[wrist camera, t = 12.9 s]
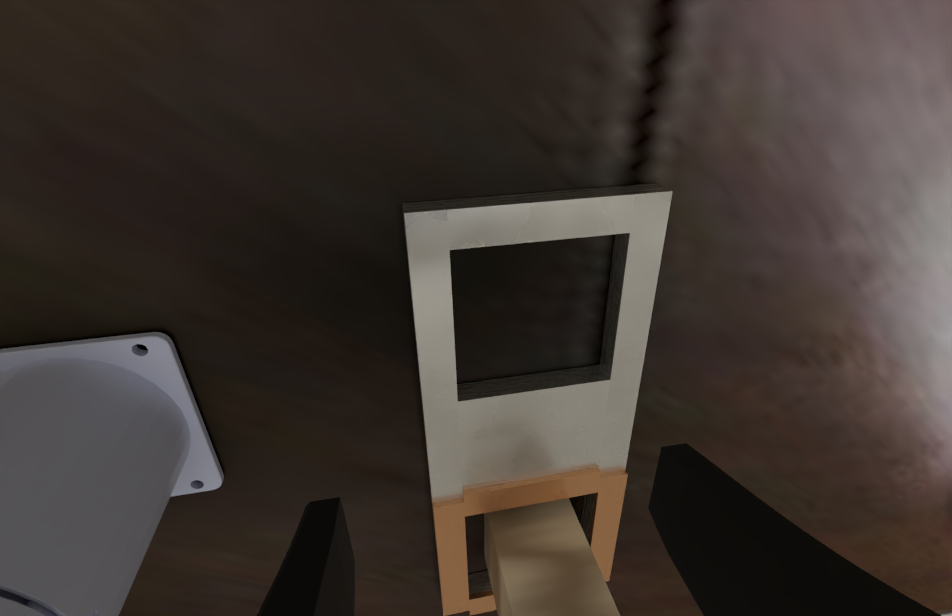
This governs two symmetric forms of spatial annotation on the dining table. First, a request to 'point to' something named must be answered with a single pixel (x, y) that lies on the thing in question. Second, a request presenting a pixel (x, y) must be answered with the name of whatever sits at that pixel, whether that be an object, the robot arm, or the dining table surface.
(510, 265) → the dining table surface
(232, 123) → the dining table surface
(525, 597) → the birch peg
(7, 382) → the robot arm
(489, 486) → the rail
